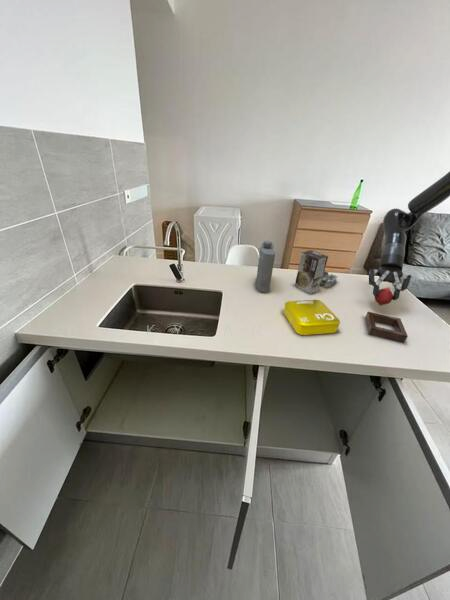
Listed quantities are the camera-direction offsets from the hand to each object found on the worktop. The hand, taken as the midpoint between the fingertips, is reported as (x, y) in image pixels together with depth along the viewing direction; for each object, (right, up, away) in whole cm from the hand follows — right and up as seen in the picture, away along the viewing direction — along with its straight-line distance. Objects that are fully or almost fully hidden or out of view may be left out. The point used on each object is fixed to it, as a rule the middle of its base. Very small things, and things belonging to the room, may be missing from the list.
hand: (385, 297), depth 91 cm
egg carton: (-12, +7, +24) cm, 28 cm away
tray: (-4, -11, -6) cm, 13 cm away
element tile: (-30, -9, -3) cm, 31 cm away
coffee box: (-23, +4, +19) cm, 30 cm away
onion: (0, -3, +4) cm, 5 cm away
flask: (-43, +6, +19) cm, 48 cm away
